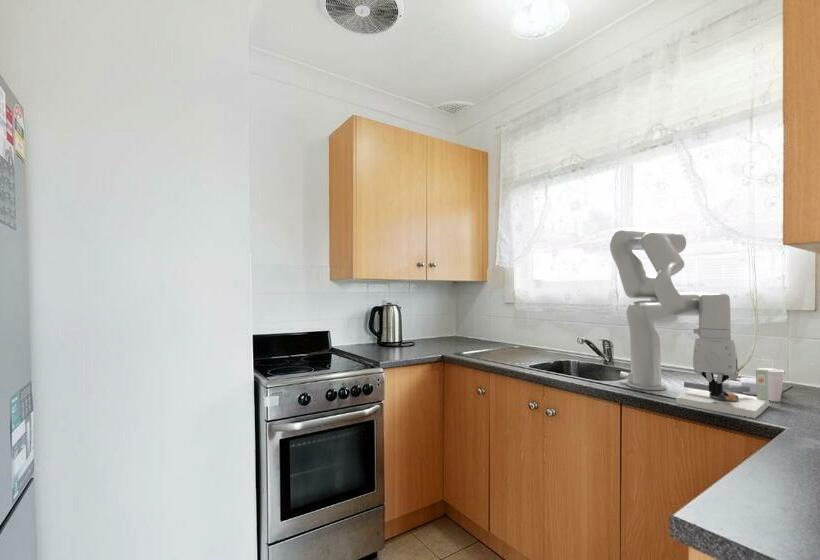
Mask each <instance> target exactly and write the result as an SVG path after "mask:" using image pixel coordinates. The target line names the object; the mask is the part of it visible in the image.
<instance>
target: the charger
mask: <svg viewBox="0 0 820 560" xmlns="http://www.w3.org/2000/svg"><path fill="white" fill-rule="evenodd" d="M722 383H725V384H729V386H741V385H746V386H750V392H741V393H742V395H746V394H749V395H748V396H755V395H757V391H756V377H744V376H743V377H740V378H739V381H737V380H728V382H726V381H724V382H722Z"/></svg>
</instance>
